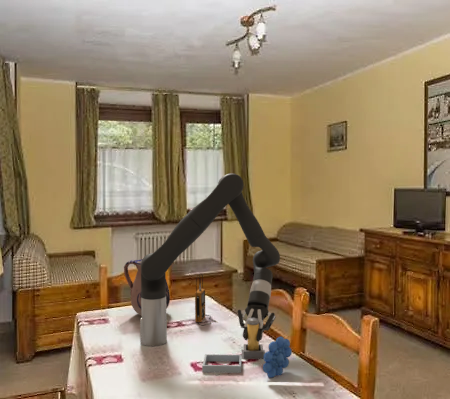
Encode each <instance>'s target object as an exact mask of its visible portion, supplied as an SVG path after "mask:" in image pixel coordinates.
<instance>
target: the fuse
mask: <svg viewBox="0 0 450 399" xmlns="http://www.w3.org/2000/svg"><path fill="white" fill-rule="evenodd" d="M246 319H247V318H246ZM247 324H248V339H247V344H248V350H247V351H259V344H260V342H258V341H257V333H258V329H259V319H258V318H248V319H247Z"/></svg>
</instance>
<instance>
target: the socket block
mask: <svg viewBox="0 0 450 399" xmlns="http://www.w3.org/2000/svg"><path fill="white" fill-rule="evenodd" d="M247 350H248V343H244V344H243V349H241V360H264V358H263V357H264V354H265V353H266V352H265V351H266V350H265V349H264V345H263V344H262V343H261V344H260V343H259V351H247Z"/></svg>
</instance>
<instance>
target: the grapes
mask: <svg viewBox="0 0 450 399" xmlns="http://www.w3.org/2000/svg"><path fill="white" fill-rule="evenodd" d="M290 345H291V343H290V340H289V339H288V338H284V337H283V336H278V337H276V339H275V341H274V340H273V341H271V342H270V343H269V344H268V350H267V351H266V352H265V354H264V357H263V358H264V359H263V361H264V363H263V364H262V371H263V372H264V373H266V375H267V378H269V379H271V378H272V379H273V378H274V377H276V376H281V375H282V374H283V372H284V370H283V369H286V368H287V367H289V363H290V361H289V359H288V358H290V357H291V356H292V353H293V352H292V348H291V347H290Z"/></svg>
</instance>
